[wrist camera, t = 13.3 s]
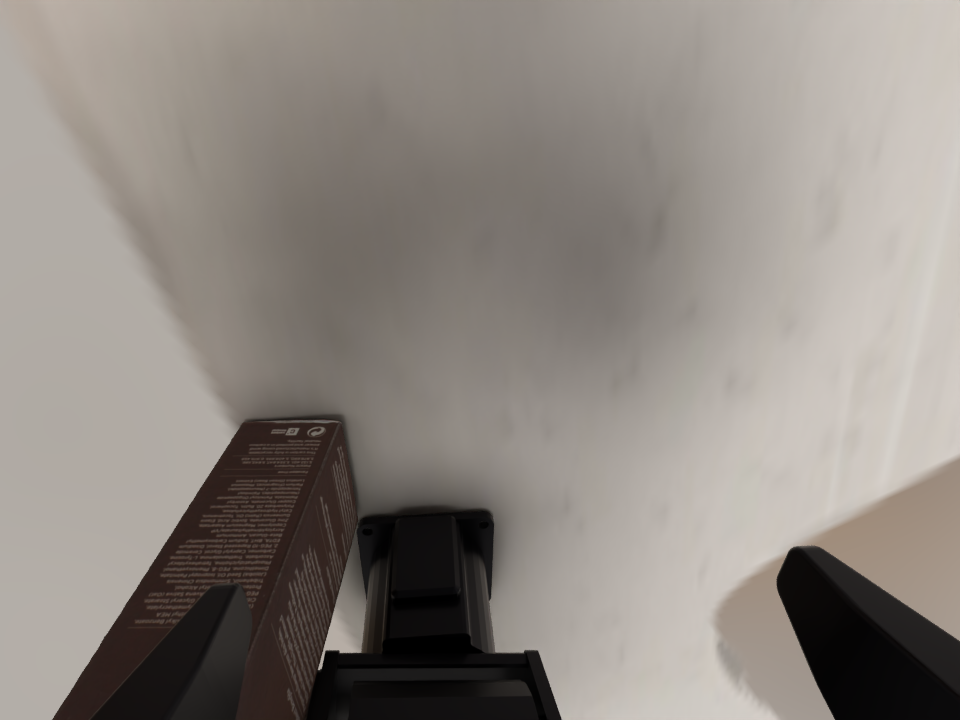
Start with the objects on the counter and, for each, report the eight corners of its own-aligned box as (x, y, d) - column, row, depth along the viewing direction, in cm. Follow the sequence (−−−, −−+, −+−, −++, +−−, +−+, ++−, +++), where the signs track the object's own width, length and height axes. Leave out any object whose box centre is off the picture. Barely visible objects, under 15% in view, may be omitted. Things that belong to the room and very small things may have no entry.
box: (235, 419, 22) (22, 743, 12) (344, 417, 22) (232, 738, 12) (264, 524, 25) (117, 859, 14) (360, 522, 25) (283, 854, 15)
